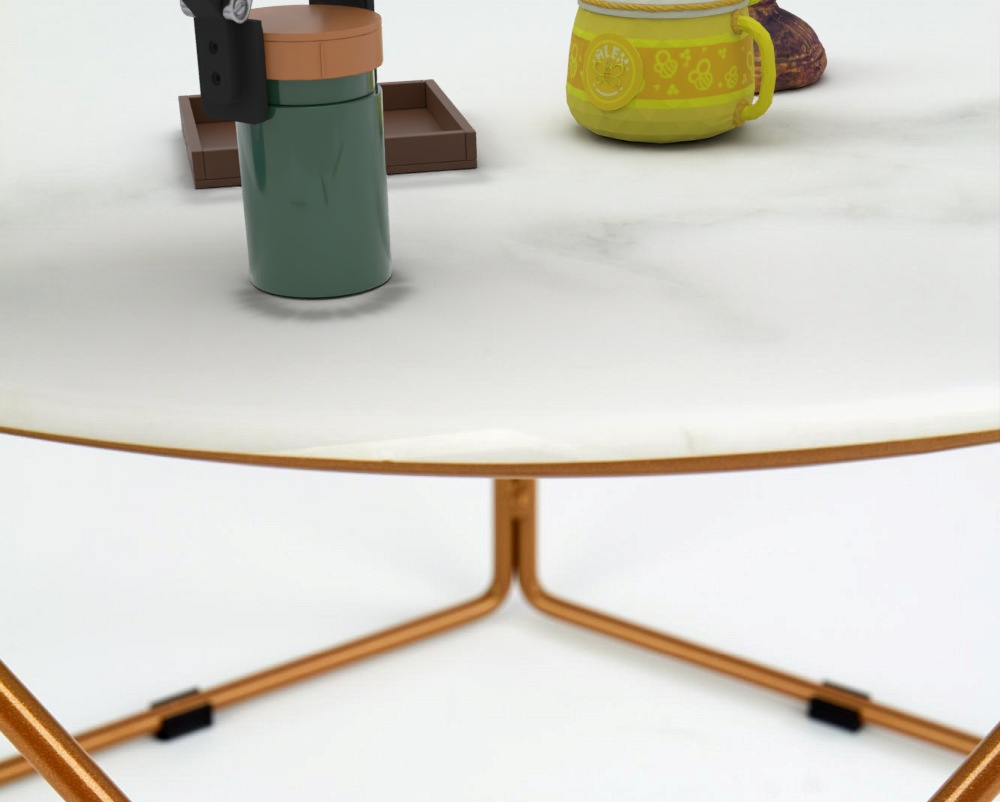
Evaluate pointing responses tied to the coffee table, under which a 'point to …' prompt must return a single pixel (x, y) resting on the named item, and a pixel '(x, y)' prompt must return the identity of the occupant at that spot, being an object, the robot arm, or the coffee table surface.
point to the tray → (407, 126)
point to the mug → (667, 68)
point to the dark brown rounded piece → (788, 47)
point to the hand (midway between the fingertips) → (292, 98)
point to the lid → (319, 41)
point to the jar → (317, 188)
